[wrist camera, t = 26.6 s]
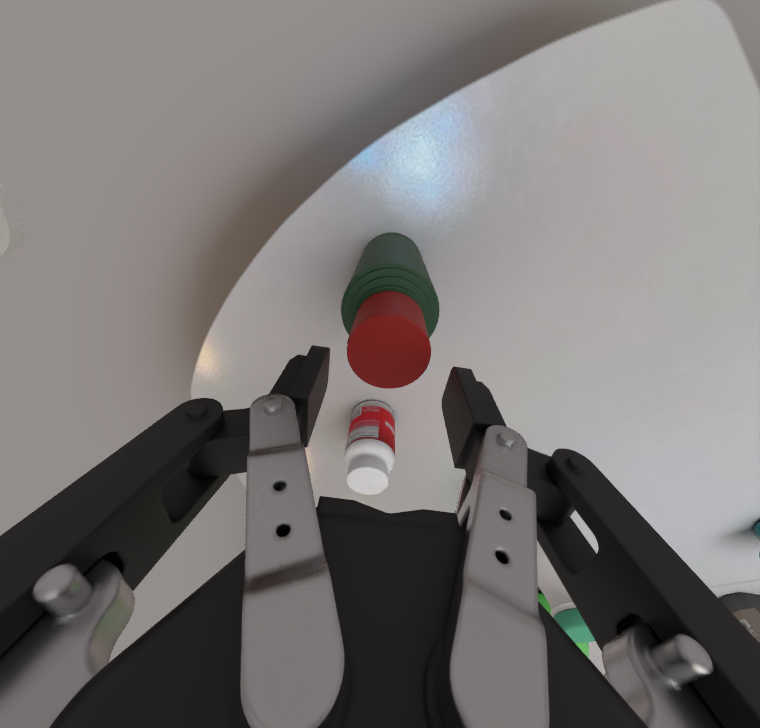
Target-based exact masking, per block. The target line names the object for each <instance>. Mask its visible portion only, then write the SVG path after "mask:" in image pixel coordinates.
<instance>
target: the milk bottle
mask: <svg viewBox="0 0 760 728" xmlns="http://www.w3.org/2000/svg"><path fill="white" fill-rule="evenodd" d="M537 577H538V587H539V588H540V590H541V591H542V593H543V594H544V596H545V597H546V599H547V601H548V602H549V605H550V607H551V615H552V617H553V618H554V619H555V620H556V622H557V623H558V624H559V625H560V626H561V627H562V629H563V630H564V631H565V632H566V633H567V634H568V635H569V637H570V638H571V639H572V640H573V641H574V642H575V643H586V642H592V641H595V639H594V637H593V636H592V634H591V632H590V630H589V629H588V627H587V625H586V624H585V622H584V620H583V618H582V617H581V615H580V613H579V611H578V610H577V608H576V606H575V605H574V603H573V601H572V599H571V598H570V596H569V594H568V592H567V591H566V589H565V587H564V586H563V584H562V582H561V580H560V579H559V577H558V575H557V574H556V572H555V570H554V568H553V567H552V565H551V563H550V561H549V560H548V558H547V556H546V555H545V553H544V551H543V549H542V548H541V546H540V544H539V542H538V541H537Z"/></svg>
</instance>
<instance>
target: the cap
mask: <svg viewBox="0 0 760 728" xmlns="http://www.w3.org/2000/svg"><path fill="white" fill-rule="evenodd" d="M347 344H348V346H347V357H348V361H349V364H350V366H351V368H352V370H353V371H354V372H355V374H356V375H357V376H358V377H359V378H361V379H362V380H363V381H365V382H366V383H368V384H370V385H373V386H376V387H380V388H398V387H403V386H405V385H408V384H410V383H412V382H414V381H415V380H417V379H418V378H419V377H420V376H421V375H422V374H423V373H424V371H425V370H426V368H427V366H428V364H429V361H430V357H431V346H430V342H429V337H428V333H427V329H426V324H425V320H424V316H423V313H422V310H421V308H420V307H419V305H418V304H417V303H416V302H415V301H414V300H413V299H412V298H411V297H409V296H407V295H405V294H403V293H400V292H396V291H384V292H379V293H376V294H374V295H372V296H370V297H369V298H368V299H366V300H365V301H364V302H363V303H362V304H361V306H360V307H359V309H358V311H357V314H356V317H355V320H354V322H353V325H352V329H351V332H350V335H349V339H348V342H347Z"/></svg>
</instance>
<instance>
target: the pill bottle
mask: <svg viewBox="0 0 760 728" xmlns="http://www.w3.org/2000/svg"><path fill="white" fill-rule="evenodd" d="M344 461H345V465H346V467H347V468H348V472H347V483H348V485H349V487H350V488H351V489H352V490H354V491H356V492H358V493H361V494H365V495H373V494H378V493H380V492H382V491H383V490H385V489H386V487H387V485H388V478H389V472H390V471H391V470H392V468H393V466H394V462H395V418H394V414H393V411H392V410H391V408H390V407H389V406H387V405H386V404H384V403H382V402H379V401H366V402H363V403H361V404H359V405H358V406H357V407H356V408H355V409H354V411H353V413H352V416H351V421H350V427H349V433H348V438H347V443H346V449H345V454H344Z"/></svg>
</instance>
